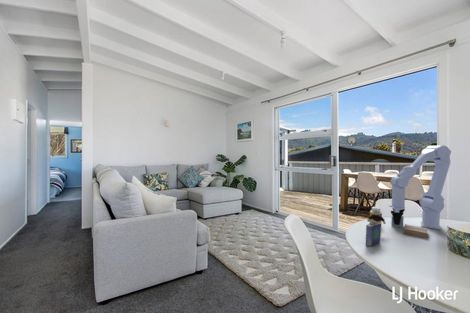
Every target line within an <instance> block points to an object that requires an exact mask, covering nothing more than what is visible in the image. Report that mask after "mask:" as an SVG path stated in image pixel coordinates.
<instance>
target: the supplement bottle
mask: <svg viewBox="0 0 470 313" xmlns="http://www.w3.org/2000/svg"><path fill="white" fill-rule="evenodd" d="M374 208H378V209H379V210H380V211H381V208H380V207H378V206H372V207H371V210H370V211H369V217H370V216H371V215H374V213H373V209H374ZM379 216H381V217H382V218H383V213H382V211H381V212H380V213H379ZM371 221H372V220H371ZM371 221H369V222H368V224H370V223H371ZM380 223H381V225H382V223H383V222H382V221H381V220H380Z"/></svg>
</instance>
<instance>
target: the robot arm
mask: <svg viewBox="0 0 470 313" xmlns="http://www.w3.org/2000/svg"><path fill="white" fill-rule="evenodd" d="M451 153H452V151H451V149H450V148H449V147H448V146H446V145H445V144H443V145H428V146H426V147H425V148H424V149H422V151H421V152H420V154H419V155H418V157H416V158H415V159H414V161H413V162H412V163H411V164H410V165H406V166H403V168H402V170H401V171H400V172H399V173H397V174H396V175H395V176H393V177H391V179H390V180H389V183H390V185H391V190H392V191H391V204H389V205H388V207H390V208H392V210H390V213H391V214H390V215H392V216H393V220H394V224H395V225H399V224H400V220H401V217H402V216H403V215H404V212H405V210H406V206H405V205H406V204H405V203H406V200H405V198H406V187H408V185H409V181H410V180H411V179H412V178H413V177H414V176H415V175H416V174H417V173H418V172H417V170H418V169H419V168H421V166H423V165H424V164H425V163H427V161H429V160H432V161H433V162H434V163H435V166H434V170H433V173H432V176H431V180H430V182H429V186H428V189H427V191H426V192H424V193H422V194H423V195H422V197H420V199H419V205H420V206H421V209H422V210H421V212H422V213H421V215H422V216H421V217H422V218H421V219H422V220H421V222H420V227H424V228H427V229H433V230H441V229H442V228H441V224H440V220H441V212H442V211H443V209H444V208H445V198H444V196H442V191H443V188H444V185H445V181H446V178H447V175H448V173H449V170H450V166H451V157H450V156H451ZM392 216H391V217H392Z"/></svg>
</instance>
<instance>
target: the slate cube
mask: <svg viewBox="0 0 470 313" xmlns="http://www.w3.org/2000/svg"><path fill="white" fill-rule="evenodd" d="M404 218H405V217H404V216H403V215H402V217H401V220H400V224H399V225H395V224H394V220H393V216H391V227H398V228H401V227H402V228H403V229H404Z"/></svg>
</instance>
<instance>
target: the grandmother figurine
mask: <svg viewBox="0 0 470 313" xmlns="http://www.w3.org/2000/svg"><path fill="white" fill-rule="evenodd" d="M380 212H382V211H381V209H380V210H379V209H378V208H374V209H373V213H374V215H371V216H370V215H369V217H368V218H367V222H368V223H370V220H371V219H373V220H374V221H375V222H379V223H380V220H381V221H382V223H383V225H385V224H386V220H385V219H384V218H383V216H382V217H381V216H379V213H380Z"/></svg>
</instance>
